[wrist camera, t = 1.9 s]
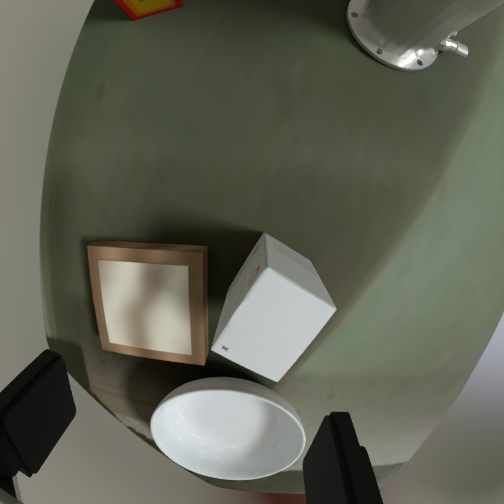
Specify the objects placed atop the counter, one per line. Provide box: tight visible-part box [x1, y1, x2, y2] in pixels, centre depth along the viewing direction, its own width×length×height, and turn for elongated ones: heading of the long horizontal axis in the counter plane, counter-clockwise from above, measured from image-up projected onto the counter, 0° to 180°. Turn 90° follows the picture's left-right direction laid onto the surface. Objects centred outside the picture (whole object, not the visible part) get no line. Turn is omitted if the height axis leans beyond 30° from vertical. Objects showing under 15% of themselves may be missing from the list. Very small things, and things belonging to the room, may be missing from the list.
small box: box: [211, 233, 336, 382], centre depth 27 cm, size 8×6×13 cm
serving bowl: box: [150, 377, 306, 480], centre depth 36 cm, size 21×21×7 cm
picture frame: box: [87, 240, 209, 365], centre depth 33 cm, size 14×14×3 cm
